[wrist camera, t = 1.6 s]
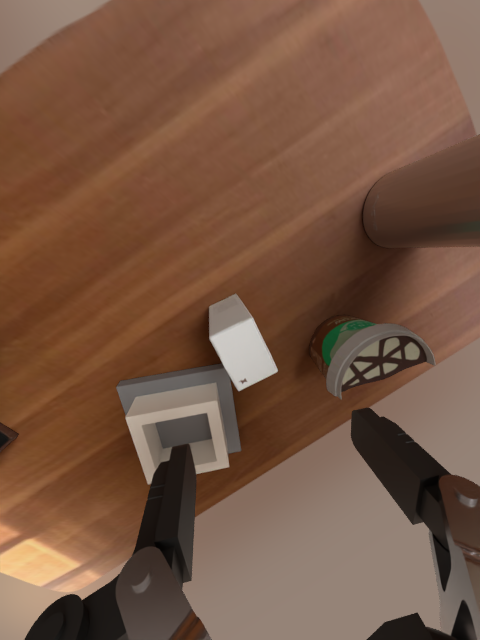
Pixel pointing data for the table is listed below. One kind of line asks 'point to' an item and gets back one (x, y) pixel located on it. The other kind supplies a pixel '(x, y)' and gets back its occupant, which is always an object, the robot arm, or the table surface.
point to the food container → (364, 351)
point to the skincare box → (239, 343)
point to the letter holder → (6, 436)
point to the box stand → (182, 417)
